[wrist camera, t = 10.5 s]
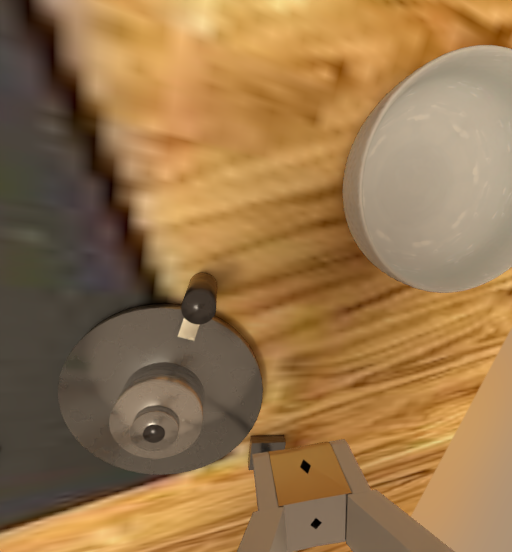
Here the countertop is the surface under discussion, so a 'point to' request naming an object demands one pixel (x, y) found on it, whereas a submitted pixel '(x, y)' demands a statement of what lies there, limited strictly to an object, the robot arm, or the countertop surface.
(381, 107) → the cereal bowl
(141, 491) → the countertop surface
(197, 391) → the cover
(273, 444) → the lever with square base
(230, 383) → the turntable
